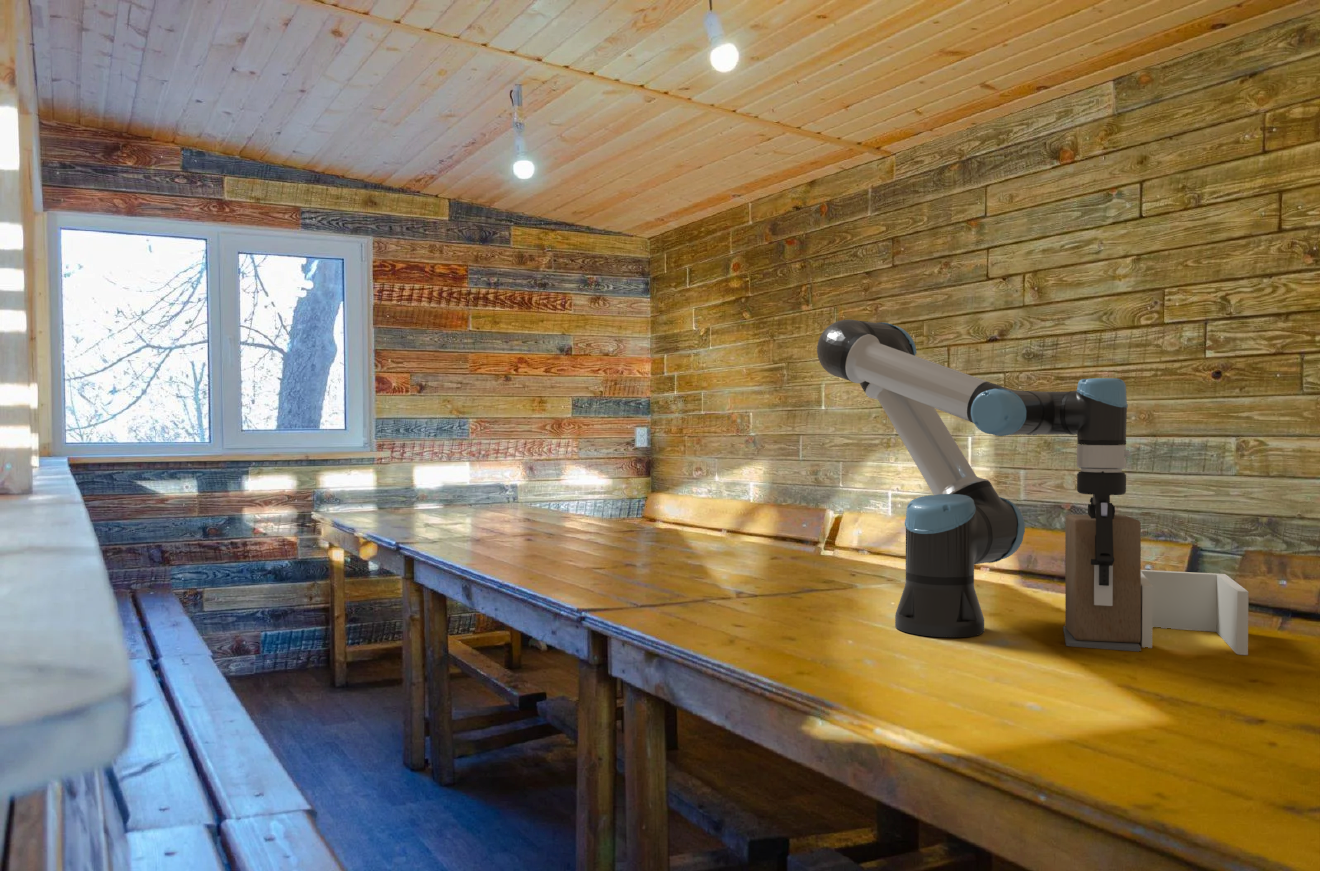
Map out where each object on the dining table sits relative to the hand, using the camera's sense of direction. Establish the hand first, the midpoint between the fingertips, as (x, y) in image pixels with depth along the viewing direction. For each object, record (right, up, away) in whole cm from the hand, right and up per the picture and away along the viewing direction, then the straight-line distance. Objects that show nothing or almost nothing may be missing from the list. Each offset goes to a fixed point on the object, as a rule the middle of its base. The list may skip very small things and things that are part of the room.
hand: (1100, 598), depth 164 cm
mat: (0, -7, 0) cm, 7 cm away
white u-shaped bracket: (+15, -7, 0) cm, 16 cm away
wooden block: (0, -7, 0) cm, 6 cm away
